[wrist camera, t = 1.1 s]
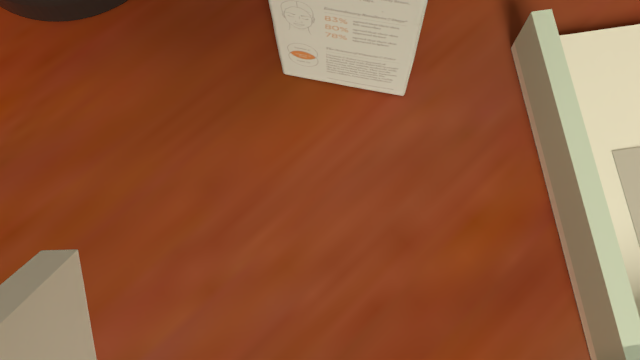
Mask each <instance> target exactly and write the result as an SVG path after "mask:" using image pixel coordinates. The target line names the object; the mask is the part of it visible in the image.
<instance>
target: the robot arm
mask: <svg viewBox="0 0 640 360" xmlns="http://www.w3.org/2000/svg"><path fill="white" fill-rule="evenodd" d="M126 1H127V0H0V6H1V7H2V8H4V9H6V10H8V11H10V12H12V13H15V14H17V15H20V16H23V17H26V18H31V19H35V20H42V21H71V20H78V19H83V18H87V17H91V16H95V15H98V14H101V13H103V12H106V11H108V10H111V9H113V8H115V7H117V6H119V5H121V4H123V3H124V2H126ZM0 360H97V359H96V353H95V348H94V342H93V336H92V330H91V324H90V318H89V312H88V306H87V301H86V295H85V289H84V283H83V277H82V271H81V265H80V259H79V254H78V250H44V251H40V252H39V253H38V254H37V255H35V256H34V257H33V258H32V259H31V260H30V261H28V262H27V263H26V264H25V265H24V266H22V267H21V268H20V269H19V270H18V271H16V272H15V273H14V274H13V275H12V276H11V277H9V278H8V279H7V280H6V281H5V282H3V283H2V284H1V285H0Z"/></svg>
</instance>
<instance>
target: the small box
mask: <svg viewBox="0 0 640 360" xmlns="http://www.w3.org/2000/svg"><path fill="white" fill-rule="evenodd" d="M268 1H269V6H270V10H271V15H272V20H273V26H274V31H275V36H276V41H277V46H278V51H279V55H280V60H281V65H282V69H283V73H284V74H287V75H292V76H298V77H303V78H308V79H313V80H319V81H324V82H330V83H335V84H340V85H345V86H351V87H356V88H362V89H367V90H373V91H379V92H384V93H389V94H395V95H401V96H403V95H404V94H405V91H406V87H407V83H408V80H409V76H410V72H411V69H412V65H413V61H414V57H415V53H416V48H417V44H418V40H419V36H420V31H421V27H422V23H423V18H424V14H425V10H426V6H427V2H428V0H268Z"/></svg>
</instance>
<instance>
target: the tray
mask: <svg viewBox="0 0 640 360" xmlns="http://www.w3.org/2000/svg"><path fill="white" fill-rule="evenodd" d="M511 51H512V55H513V59H514V63H515V66H516V70H517V74H518V78H519V82H520V86H521V90H522V94H523V97H524V101H525V105H526V109H527V113H528V117H529V121H530V125H531V128H532V132H533V136H534V140H535V144H536V148H537V152H538V156H539V160H540V163H541V167H542V171H543V175H544V179H545V183H546V187H547V191H548V194H549V198H550V202H551V206H552V210H553V214H554V218H555V222H556V225H557V229H558V233H559V237H560V241H561V245H562V249H563V253H564V256H565V260H566V264H567V268H568V272H569V276H570V280H571V284H572V288H573V291H574V295H575V299H576V303H577V307H578V311H579V315H580V319H581V322H582V326H583V330H584V334H585V338H586V342H587V346H588V350H589V353H590V357H591V360H640V24H637V25H630V26H623V27H616V28H609V29H602V30H595V31H588V32H581V33H574V34H567V35H560V36H559V33H558V30H557V26H556V23H555V19H554V16H553V12H552V9H548V10H541V11H534V12H531V13H530V15H529V17H528V18H527V20H526V22H525V24H524V26H523V27H522V29H521V31H520V33H519V35H518V36H517V38H516V40H515V42H514V43H513V45H512V47H511Z"/></svg>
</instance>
